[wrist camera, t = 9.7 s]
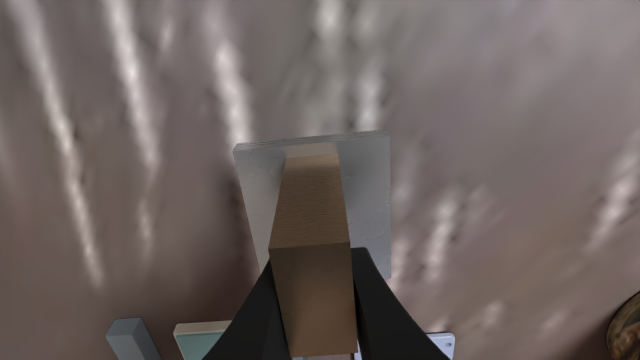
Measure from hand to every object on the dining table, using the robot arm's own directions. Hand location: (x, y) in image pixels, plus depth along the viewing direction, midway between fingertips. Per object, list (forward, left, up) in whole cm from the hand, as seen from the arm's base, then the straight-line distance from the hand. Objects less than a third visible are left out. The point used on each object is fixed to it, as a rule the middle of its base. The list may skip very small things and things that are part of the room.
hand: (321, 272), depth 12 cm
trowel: (0, 0, -4) cm, 4 cm away
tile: (-15, +10, -10) cm, 21 cm away
